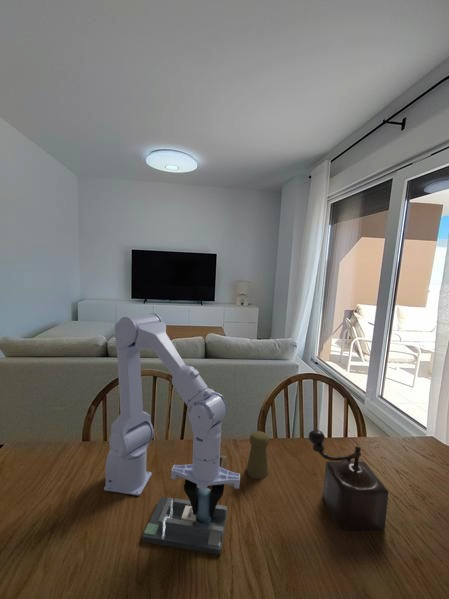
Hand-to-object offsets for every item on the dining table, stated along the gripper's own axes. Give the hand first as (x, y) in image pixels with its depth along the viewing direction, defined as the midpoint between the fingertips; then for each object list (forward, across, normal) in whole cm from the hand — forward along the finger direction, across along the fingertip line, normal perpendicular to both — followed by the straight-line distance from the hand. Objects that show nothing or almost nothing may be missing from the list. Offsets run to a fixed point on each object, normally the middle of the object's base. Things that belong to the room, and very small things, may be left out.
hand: (203, 512), depth 63 cm
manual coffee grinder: (+4, +31, +11) cm, 33 cm away
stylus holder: (+4, -2, +18) cm, 18 cm away
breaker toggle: (+2, -3, 0) cm, 4 cm away
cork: (+4, +11, +21) cm, 24 cm away
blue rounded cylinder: (+2, 0, 0) cm, 2 cm away
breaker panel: (+4, -3, 0) cm, 5 cm away
